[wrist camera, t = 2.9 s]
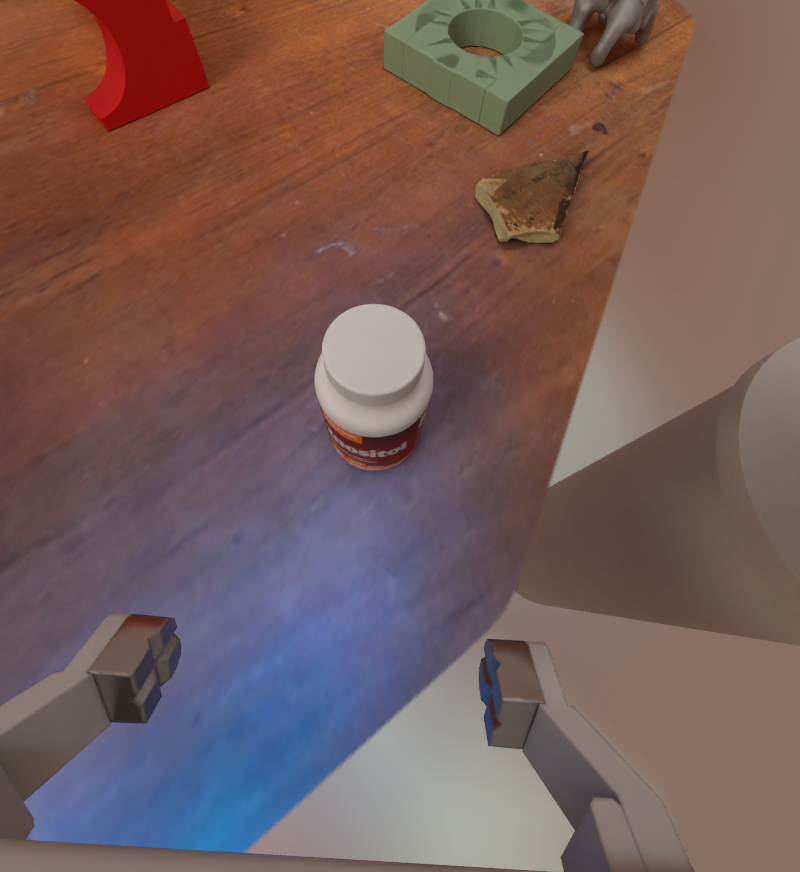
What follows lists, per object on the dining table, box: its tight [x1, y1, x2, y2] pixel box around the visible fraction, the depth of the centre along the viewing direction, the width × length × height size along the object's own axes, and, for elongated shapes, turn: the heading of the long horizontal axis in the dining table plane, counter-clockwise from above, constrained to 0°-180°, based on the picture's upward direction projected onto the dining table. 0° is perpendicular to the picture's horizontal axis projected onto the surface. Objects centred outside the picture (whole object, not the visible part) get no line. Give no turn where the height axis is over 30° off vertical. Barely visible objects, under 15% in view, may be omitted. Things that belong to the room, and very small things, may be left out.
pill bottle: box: [315, 304, 433, 470], centre depth 24 cm, size 6×6×11 cm
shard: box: [475, 151, 588, 243], centre depth 35 cm, size 11×8×2 cm
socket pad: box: [384, 0, 584, 136], centre depth 41 cm, size 14×13×3 cm
